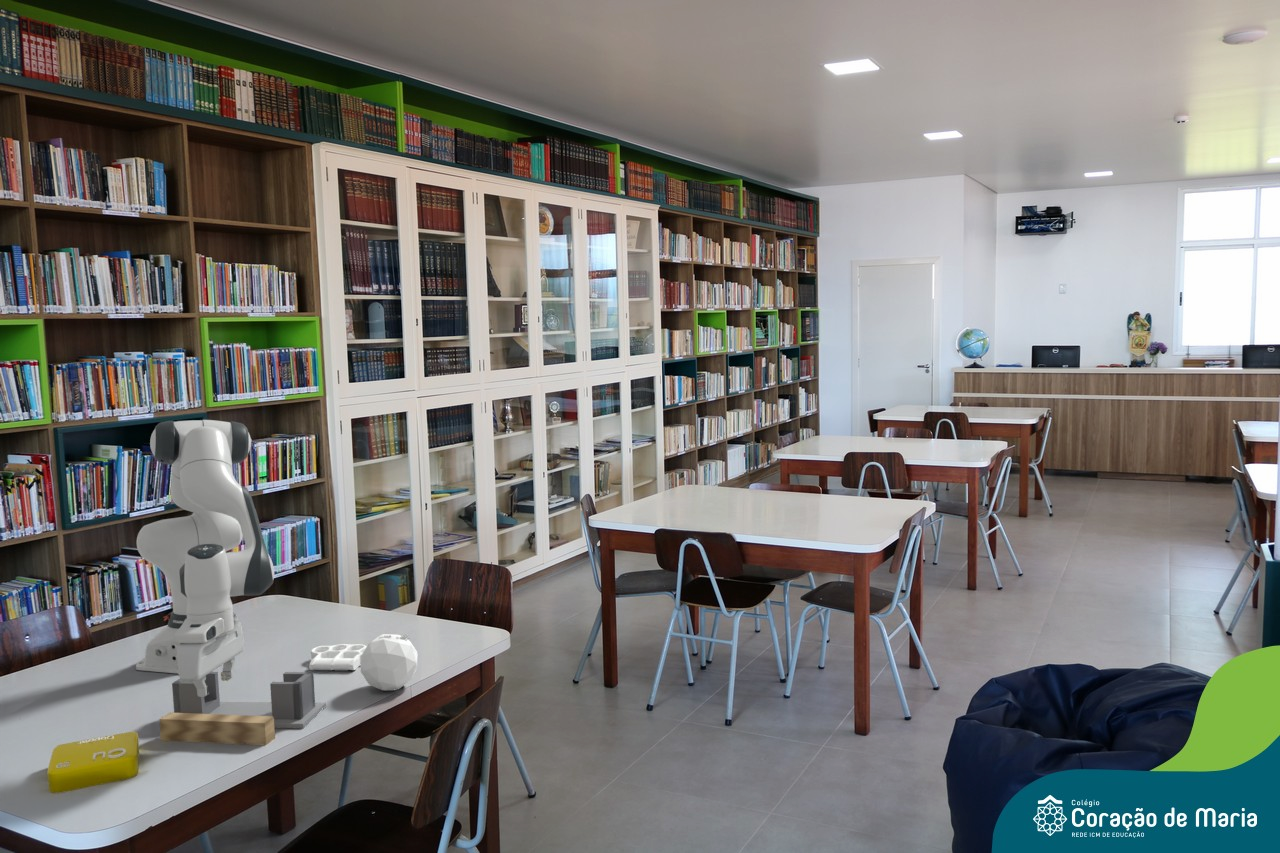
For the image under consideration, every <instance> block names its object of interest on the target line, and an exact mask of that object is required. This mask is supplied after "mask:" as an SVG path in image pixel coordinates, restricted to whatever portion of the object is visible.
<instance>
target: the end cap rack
mask: <svg viewBox="0 0 1280 853" xmlns="http://www.w3.org/2000/svg"><path fill="white" fill-rule="evenodd" d="M282 679H283V681H272V682H271V683H269V687H270V702H268V701H267V702H266V701H264V702H263V701H261V702H260V701H220V700H221V699H220V687H219V684H220V682H219V672H218V671H212V672H210V673H209V674H207V675H206V680H204V681H205V683H206V686H209V694H208V695H206V696H205V697H199V696H198V695H197V688H196V687H195V685H194V684H193V681H182V680H181V678H180V677H179V679H177V680H175V681H173V682H171V687H172V688H171V689H172V690H171V691H172V699H173V700H172V702H173V704H172V705H173V713H195V714H221V715H247V716H272V717H274V729H304V728H305V727H307V725H309V724H310V723H311V722H312V721H313V720H314V719H315V718H316V717H317V716H318V715H319V714H320V713H321V712H322V711H323V710H322V708H324V707H325V706H326V707H327V703H326V702H316V697H315V696H316V695H315V681H314V680H315V679H314V672H313V671H302V672H301V671H285V672H284V673H282ZM326 707H325V708H326ZM325 708H324V709H325ZM321 710H322V711H321ZM320 711H321V712H320ZM319 712H320V713H319ZM318 713H319V714H318ZM317 714H318V715H317ZM316 715H317V716H316ZM315 716H316V717H315ZM314 717H315V718H314ZM313 718H314V719H313ZM312 719H313V720H312ZM311 720H312V721H311ZM310 721H311V722H310ZM309 722H310V723H309Z"/></svg>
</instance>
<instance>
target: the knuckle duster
mask: <svg viewBox="0 0 1280 853" xmlns="http://www.w3.org/2000/svg"><path fill="white" fill-rule="evenodd" d="M367 646H368V645H365V644H362V643H361V644H360V643H356V644H354V643H353V644H349V643H348V644H347V643H340V644H339V643H338V644H334V645H319V646H316V647H314V648H312V649H310V655H311V656H310V657H311V660H310V662H309V666H308V667H309V670H311V671H313V670H315V671H332V670H335V671H348V670H355V669H356V668H357V667H358V666H359V665H360V664H361V656H362V654H363V652H364V651H365V649H366V647H367Z"/></svg>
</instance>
